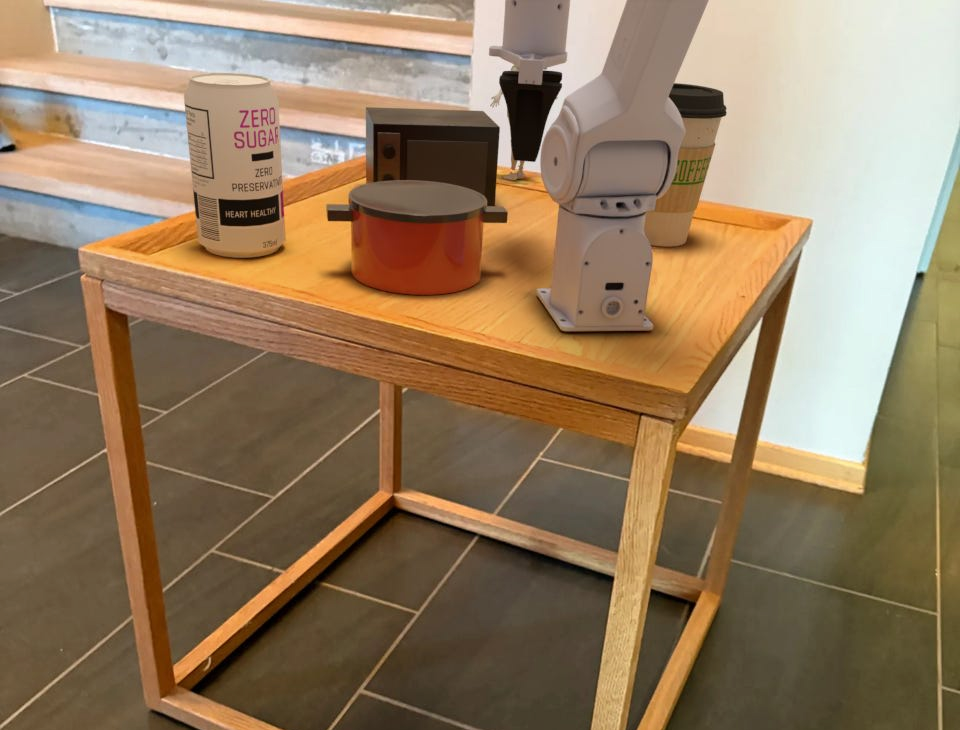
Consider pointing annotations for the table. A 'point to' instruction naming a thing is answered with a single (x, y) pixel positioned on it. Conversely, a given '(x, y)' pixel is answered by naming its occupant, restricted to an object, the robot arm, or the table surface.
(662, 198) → the coffee cup
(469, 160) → the mini oven
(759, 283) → the table surface
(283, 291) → the table surface
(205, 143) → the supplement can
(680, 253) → the table surface
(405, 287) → the pot
